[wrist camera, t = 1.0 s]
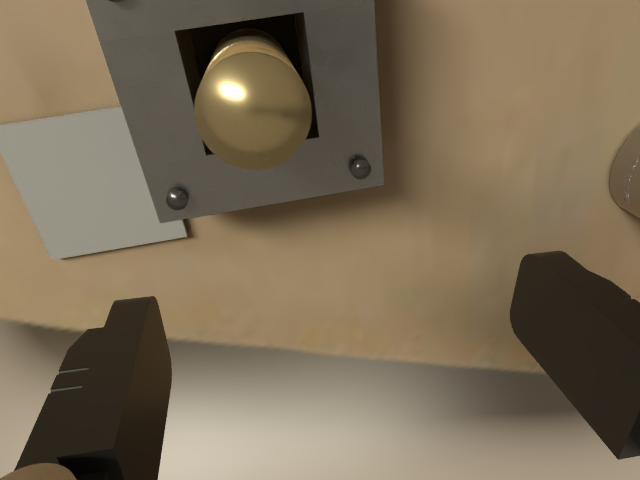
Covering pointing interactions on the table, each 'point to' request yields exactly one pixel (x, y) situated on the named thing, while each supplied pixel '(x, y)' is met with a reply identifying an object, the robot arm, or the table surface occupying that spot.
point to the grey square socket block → (184, 79)
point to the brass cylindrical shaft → (252, 102)
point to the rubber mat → (83, 183)
